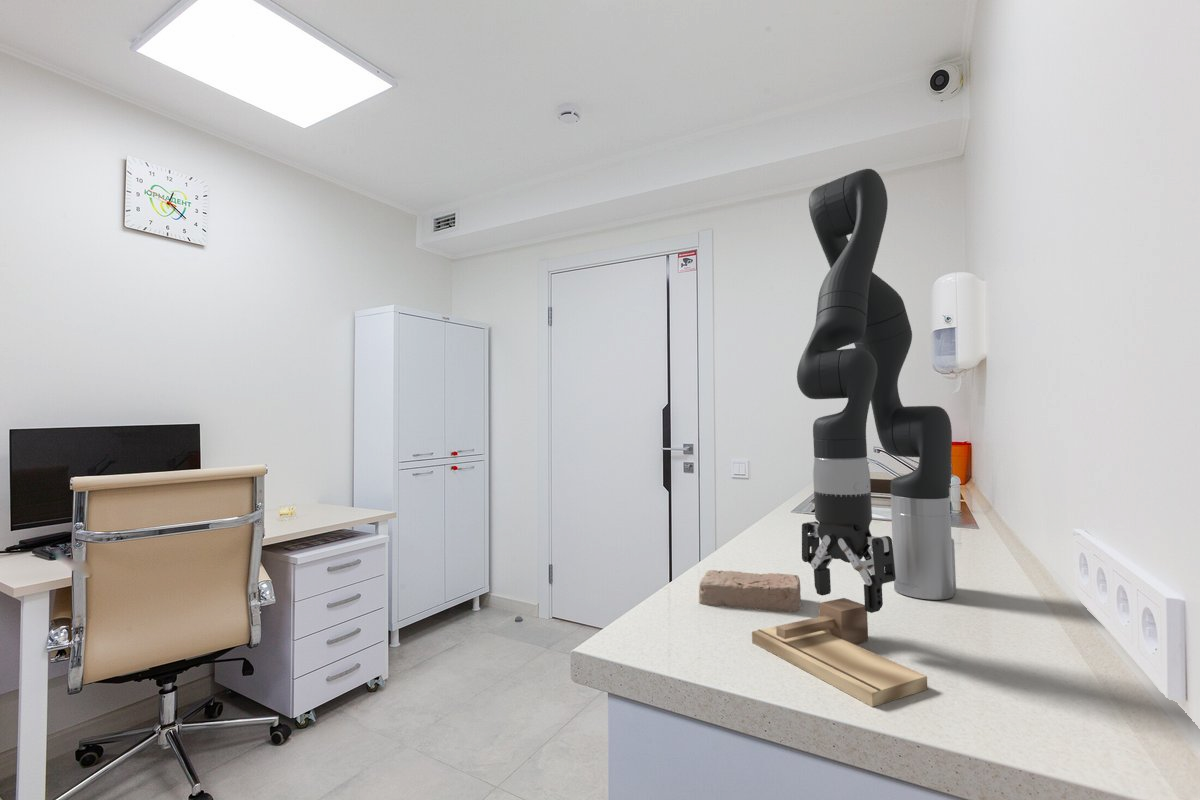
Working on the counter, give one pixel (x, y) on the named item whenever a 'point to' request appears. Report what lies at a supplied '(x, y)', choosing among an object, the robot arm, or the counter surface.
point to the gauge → (832, 622)
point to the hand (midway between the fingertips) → (847, 602)
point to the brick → (750, 590)
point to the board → (844, 665)
